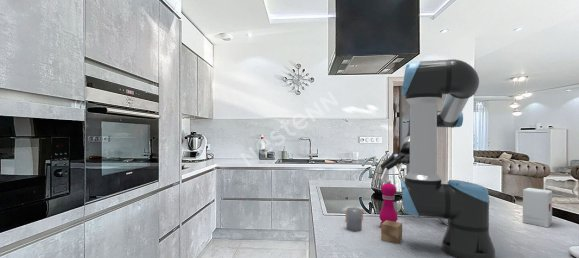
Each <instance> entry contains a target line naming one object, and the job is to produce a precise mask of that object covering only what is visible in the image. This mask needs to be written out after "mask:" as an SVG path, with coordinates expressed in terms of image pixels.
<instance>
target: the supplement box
mask: <svg viewBox="0 0 579 258" xmlns="http://www.w3.org/2000/svg"><path fill="white" fill-rule="evenodd" d="M522 223H525V224H529V225H535V226H539V227H545V228H549V227H550V226H551V225H552V223H553V191H552V190H549V189H541V188H534V187H527V188H524V189H523V190H522Z"/></svg>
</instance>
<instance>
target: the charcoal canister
mask: <svg viewBox="0 0 579 258" xmlns="http://www.w3.org/2000/svg"><path fill="white" fill-rule="evenodd" d="M361 209H362V208H360V209H359V207H347V208H346V210H347V222H346V230H347V231H350V232H355V233H356V232H361V231H362V227H363V225H362V224H363V222H362V221H363V220H362V210H361Z"/></svg>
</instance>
